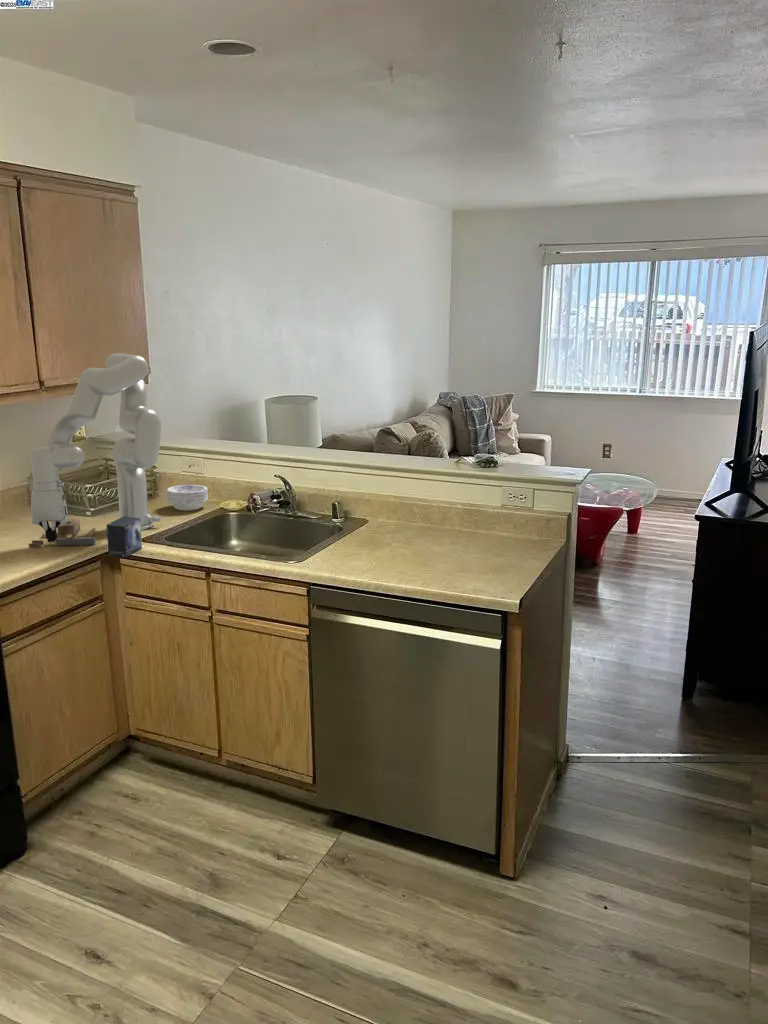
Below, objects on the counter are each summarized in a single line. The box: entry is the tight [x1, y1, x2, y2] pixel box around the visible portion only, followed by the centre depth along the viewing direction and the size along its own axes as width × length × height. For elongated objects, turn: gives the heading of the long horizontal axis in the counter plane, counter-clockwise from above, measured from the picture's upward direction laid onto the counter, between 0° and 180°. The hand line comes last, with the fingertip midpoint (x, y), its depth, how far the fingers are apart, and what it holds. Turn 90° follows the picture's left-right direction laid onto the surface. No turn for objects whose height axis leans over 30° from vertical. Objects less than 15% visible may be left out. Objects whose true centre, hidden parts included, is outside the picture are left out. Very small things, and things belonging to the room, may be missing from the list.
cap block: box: [57, 518, 81, 538], centre depth 265 cm, size 5×9×5 cm, turn 8°
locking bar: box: [55, 534, 97, 546], centre depth 254 cm, size 12×2×3 cm, turn 98°
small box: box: [106, 516, 143, 559], centre depth 247 cm, size 11×6×10 cm, turn 168°
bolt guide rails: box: [42, 527, 97, 539], centre depth 265 cm, size 16×7×1 cm, turn 98°
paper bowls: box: [166, 484, 209, 512], centre depth 302 cm, size 15×15×8 cm
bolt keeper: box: [28, 539, 45, 548], centre depth 253 cm, size 4×4×1 cm
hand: (51, 540), depth 253 cm, fingers closed
